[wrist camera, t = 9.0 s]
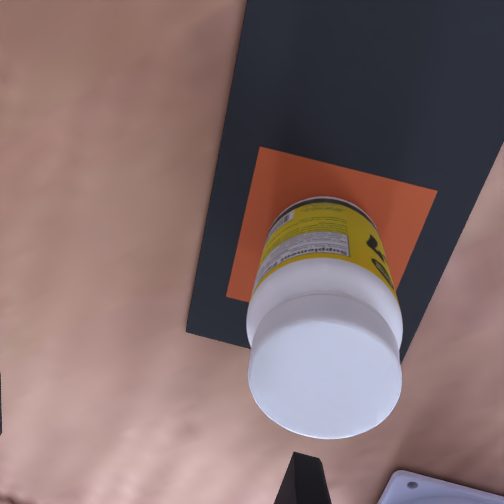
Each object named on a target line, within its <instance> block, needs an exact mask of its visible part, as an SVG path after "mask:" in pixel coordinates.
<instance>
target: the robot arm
mask: <svg viewBox="0 0 504 504" xmlns="http://www.w3.org/2000/svg"><path fill="white" fill-rule="evenodd" d="M1 433H2V413H1V375H0V435H1ZM274 504H332V503H331V499H330V495H329V492H328V488H327V483H326V479H325V475H324V470H323V465H322V462H321V461H320V459H319V458H316V457H312V456H308V455H305V454H301V453H297V452H294V453H293V455H292V458H291V460H290V463H289V466H288V468H287V471H286V473H285V476H284V479H283V481H282V484H281V486H280V489H279V492H278V494H277V497H276V500H275V502H274ZM377 504H504V497H503V496H499V495H496V494H492V493H488V492H484V491H480V490H477V489H473V488H469V487H465V486H462V485H458V484H454V483H450V482H446V481H443V480H439V479H435V478H431V477H428V476H424V475H420V474H416V473H412V472H409V471H405V470H398V471H396V472H394V473H393V475H392V476H391V478H390V480H389V482H388V484H387V486H386V488H385V490H384V492H383V494H382V496H381V498H380V499H379V501H378V503H377Z"/></svg>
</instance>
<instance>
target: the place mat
mask: <svg viewBox="0 0 504 504" xmlns="http://www.w3.org/2000/svg"><path fill="white" fill-rule="evenodd" d="M503 142H504V0H247V6H246V11H245V16H244V22H243V27H242V32H241V38H240V43H239V48H238V54H237V59H236V64H235V70H234V75H233V81H232V86H231V91H230V97H229V102H228V107H227V113H226V118H225V123H224V129H223V134H222V139H221V145H220V150H219V155H218V161H217V166H216V172H215V177H214V182H213V188H212V193H211V198H210V204H209V209H208V214H207V220H206V225H205V230H204V236H203V241H202V246H201V252H200V257H199V263H198V268H197V273H196V279H195V284H194V289H193V295H192V300H191V305H190V311H189V316H188V321H187V327H186V332H188V333H192V334H195V335H199V336H203V337H207V338H211V339H215V340H219V341H222V342H226V343H230V344H234V345H238V346H242V347H245V348H249V349H251V346H250V343H249V340H248V336H247V327H246V320H247V312H248V307H249V302H250V299H251V295H252V291H253V288H254V284H255V280H256V276H257V272H258V268H259V264H260V260H261V256H262V252H263V249H264V245H265V242H266V238H267V235H268V232H269V230H270V227H271V226H272V224H273V222H274V221H275V219H276V218H277V217H278V216H279V215H280V214H281V213H282V212H283V211H284V210H285V209H287V208H288V207H289V206H291V205H293V204H295V203H297V202H299V201H301V200H304V199H307V198H312V197H320V196H328V197H336V198H340V199H343V200H346V201H348V202H351V203H353V204H354V205H356V206H358V207H359V208H360V209H362V210H363V211H364V212H365V213H366V214H367V215H368V216H369V217H370V219H371V220H372V221H373V223H374V224H375V226H376V228H377V230H378V233H379V236H380V239H381V242H382V245H383V249H384V252H385V256H386V260H387V264H388V267H389V270H390V274H391V278H392V281H393V285H394V289H395V293H396V296H397V299H398V303H399V306H400V310H401V315H402V322H403V334H402V341H401V345H400V349H399V359H400V365H401V363H402V360H403V358H404V356H405V354H406V352H407V350H408V347H409V345H410V343H411V341H412V339H413V337H414V334H415V332H416V330H417V328H418V326H419V324H420V321H421V319H422V317H423V315H424V313H425V311H426V308H427V306H428V304H429V302H430V300H431V298H432V295H433V293H434V291H435V289H436V287H437V285H438V282H439V280H440V278H441V276H442V274H443V272H444V269H445V267H446V265H447V263H448V261H449V259H450V256H451V254H452V252H453V250H454V248H455V246H456V243H457V241H458V239H459V237H460V235H461V233H462V230H463V228H464V226H465V224H466V222H467V220H468V218H469V215H470V213H471V211H472V209H473V207H474V205H475V202H476V200H477V198H478V196H479V194H480V192H481V189H482V187H483V185H484V183H485V181H486V179H487V176H488V174H489V172H490V170H491V168H492V166H493V163H494V161H495V159H496V157H497V155H498V153H499V150H500V148H501V146H502V144H503Z"/></svg>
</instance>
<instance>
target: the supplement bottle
mask: <svg viewBox="0 0 504 504" xmlns="http://www.w3.org/2000/svg"><path fill="white" fill-rule="evenodd" d="M246 327H247V336H248V340H249V343H250V346H251V353H250V359H249V366H248V381H249V386H250V390H251V393H252V395H253V398H254V399H255V401H256V403H257V405H258V406H259V407H260V409H261V410H262V411H263V412H264V413H265V414H266V415H267V416H268V417H269V418H270V419H272V420H273V421H274V422H276V423H277V424H279V425H280V426H282V427H284V428H285V429H287V430H289V431H292V432H294V433H297V434H300V435H303V436H308V437H313V438H320V439H339V438H346V437H351V436H355V435H358V434H361V433H364V432H366V431H368V430H370V429H372V428H374V427H375V426H377V425H378V424H379V423H380V422H382V421H383V420H384V419H385V418H386V417H387V416H388V415H389V414H390V413H391V411H392V410H393V409H394V407H395V405H396V403H397V401H398V399H399V396H400V393H401V387H402V372H401V366H400V359H399V349H400V345H401V341H402V334H403V322H402V315H401V310H400V306H399V303H398V299H397V296H396V293H395V289H394V285H393V281H392V278H391V274H390V270H389V267H388V264H387V260H386V256H385V252H384V249H383V245H382V242H381V239H380V236H379V233H378V230H377V228H376V226H375V224H374V223H373V221H372V220H371V219H370V217H369V216H368V215H367V214H366V213H365V212H364V211H363V210H362V209H360V208H359V207H358V206H356V205H354V204H353V203H351V202H348V201H346V200H343V199H340V198H336V197H328V196H320V197H312V198H307V199H304V200H301V201H299V202H297V203H295V204H293V205H291V206H289V207H288V208H287V209H285V210H284V211H283V212H282V213H281V214H280V215H279V216H278V217H277V218H276V219H275V221H274V222H273V224H272V226H271V227H270V230H269V232H268V235H267V238H266V242H265V245H264V249H263V252H262V256H261V260H260V264H259V268H258V272H257V276H256V280H255V284H254V288H253V291H252V295H251V299H250V302H249V307H248V312H247V320H246Z"/></svg>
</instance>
